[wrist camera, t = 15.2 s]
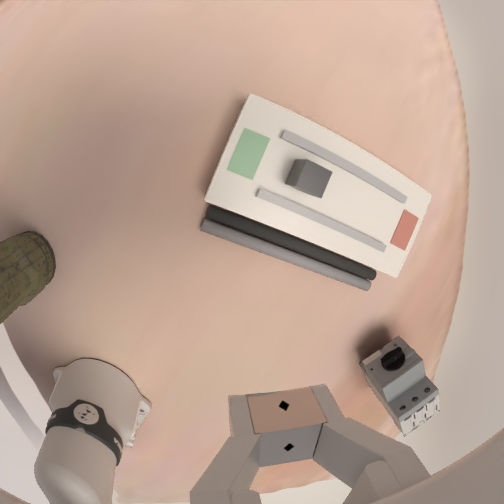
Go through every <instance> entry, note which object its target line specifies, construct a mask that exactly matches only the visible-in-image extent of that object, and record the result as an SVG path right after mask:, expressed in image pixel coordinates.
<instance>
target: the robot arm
mask: <svg viewBox="0 0 504 504" xmlns="http://www.w3.org/2000/svg"><path fill="white" fill-rule="evenodd" d="M53 377H54V381H55V384H56V385H55V387H54V389H53V392H52V394H51V397H50V399H49V405H50V409H51V411H52V415H51V417H50V418H49V420H48V423H47V427H46V437H45V439H44V442H43V444H42V447H41V449H40V452H39V455H38V457H37V460H36V462H35V465H34V473H35V478H36V481H37V483H38V485H39V486H40V488H41V490H42V491H43V492H44V494H45V496H46V497H47V499H48V500H49V502H50V504H112V493H113V483H114V476H115V469H116V466H118V464H119V462H120V459H121V457H122V449H123V446H124V445H125V446H127V447H132V446H133V443H134V439H135V435H136V434H135V432H136V430H137V429H138V427H139V426H140V424H141V423H142V422H143V420H144V419H145V417H146V416H147V414H148V413H149V411H150V410H151V406H152V405H151V403H150V402H149V401H148V400H147V399H145V398H144V397H143V396H142V395H141V394H140V393H139V391H138V390H137V388H136V386H135V384H134V383H133V382H132V381H131V380H130V378H129V377H128V376H126V375H125V374H124V373H123V372H122V371H120V370H119V369H117V368H115V367H114V366H112V365H110V364H107V363H105V362H102V361H99V360H94V359H79V360H76V361H74V362H72V363H70V364H69V365H68V366H66V367H57V368H55V369H54V372H53ZM228 403H229V422H230V434H231V437H229V438H228V439H227V441H226V442H225V444H224V445H223V447H222V448H221V450H220V451H219V452H218V454H217V455H216V457H215V458H214V460H213V461H212V462H211V464H210V465H209V467H208V468H207V469H206V471H205V472H204V474H203V475H202V476H201V478H200V479H199V480H198V482H197V483H196V484H195V486H194V487H193V489H192V490H191V491H190V504H261V500H260V496H259V493H258V492H256V491H254V490H249V488H250V486H251V484H252V482H253V480H254V478H255V476H256V473H257V471H258V469H259V467H264V466H271V465H276V464H282V463H288V462H294V461H301V460H306V459H312V458H313V460H314V461H315V462H317V463H318V464H319V465H321V466H322V467H323V468H325V469H326V470H327V471H328V472H330V473H331V474H333V475H334V476H335V477H337V478H338V479H340V480H341V481H342V482H344V483H345V484H347V485H348V486H349V487H351V488H352V490H351V492H350V493H349V495H348V496H347V498H346V499H345V501H344V503H343V504H504V428H503V429H502V430H501V431H499V432H498V433H497V434H495V435H494V436H493V437H491V438H490V439H489V440H487V441H486V442H485V443H483V444H482V445H480V446H479V447H477V448H476V449H474V450H473V451H471V452H470V453H469V454H467V455H465V456H464V457H462V458H461V459H459V460H458V461H456V462H454V463H453V464H451V465H449V466H447V467H446V468H444V469H442V470H441V471H439V472H437V473H435V474H433V475H431V476H430V474H429V473H428V471H427V470H426V468H425V467H424V465H423V464H422V463H421V461H420V460H419V458H418V457H417V455H416V454H415V453H414V451H413V449H412V448H411V447H409V446H407V445H405V444H403V443H401V442H398V441H396V440H394V439H392V438H390V437H388V436H386V435H383V434H381V433H379V432H377V431H375V430H373V429H371V428H369V427H367V426H365V425H363V424H361V423H359V422H357V421H355V420H353V419H351V418H345V417H344V415H343V414H342V412H341V410H340V408H339V407H338V405H337V403H336V401H335V399H334V398H333V396H332V394H331V392H330V391H329V389H328V387H327V386H326V385H325V384H321V385H316V386H310V387H304V388H298V389H292V390H285V391H277V392H269V393H257V394H246V395H229V396H228ZM0 504H30V503H27V502H25V501H23V500H21V499H19V498H18V497H15V496H14V495H12V494H10V493H8V492H6V491H4V490H2V489H0Z"/></svg>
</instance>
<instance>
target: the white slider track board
mask: <svg viewBox="0 0 504 504" xmlns="http://www.w3.org/2000/svg"><path fill="white" fill-rule="evenodd" d="M295 159H308V160H310V161H312V162H314V163H316V164H318V165H320V166H322V167H324V168H326V169H328V170H330V171H332V175H331V177H330V180H329V182H328V184H327V187H326V189H325V191H324V194H323V196H322V198H318V197H315V196H312V195H309V194H306V193H304V192H302V191H300V190H298V189H295V188H293V187H291V186H289V185H286V184H285V183H286V180H287V178H288V176H289V173H290V171H291V169H292V166H293V164H294V161H295ZM431 197H432V195H431V194H430V193H428V192H427V191H425V190H424V189H423V188H421V187H420V186H418V185H417V184H416V183H414V182H413V181H411V180H410V179H408V178H407V177H406V176H404V175H403V174H401V173H400V172H398V171H397V170H395V169H394V168H392V167H391V166H389V165H387V164H386V163H384V162H383V161H381V160H380V159H378V158H376V157H375V156H373V155H372V154H370V153H368V152H367V151H365V150H363V149H362V148H360V147H358V146H357V145H355V144H353V143H351V142H350V141H348V140H346V139H344V138H343V137H341V136H339V135H337V134H335V133H334V132H332V131H330V130H328V129H326V128H324V127H322V126H320V125H318V124H317V123H315V122H313V121H311V120H309V119H307V118H305V117H303V116H301V115H299V114H297V113H294V112H292V111H290V110H288V109H286V108H284V107H282V106H279V105H277V104H275V103H273V102H271V101H268V100H266V99H264V98H261V97H259V96H257V95H254V94H252V93H250V94H249V96H248V97H247V99H246V101H245V102H244V105H243V107H242V109H241V111H240V113H239V116H238V118H237V120H236V122H235V125H234V127H233V129H232V131H231V134H230V136H229V138H228V141H227V143H226V145H225V148H224V150H223V152H222V155H221V157H220V160H219V162H218V164H217V167H216V169H215V172H214V174H213V177H212V179H211V182H210V184H209V187H208V189H207V192H206V194H205V199H204V201H206V202H209V203H211V204H214V205H217V206H219V207H222V208H225V209H227V210H230V211H233V212H235V213H238V214H240V215H243V216H246V217H248V218H251V219H253V220H256V221H259V222H261V223H264V224H266V225H269V226H271V227H274V228H276V229H279V230H282V231H284V232H287V233H289V234H292V235H294V236H297V237H299V238H302V239H304V240H307V241H309V242H311V243H314V244H316V245H319V246H321V247H324V248H326V249H329V250H331V251H333V252H336V253H338V254H341V255H343V256H345V257H348V258H350V259H353V260H355V261H357V262H360V263H362V264H364V265H367V266H369V267H372V268H374V269H376V270H379V271H381V272H383V273H386V274H388V275H390V276H392V277H395V278H397V276H398V274H399V272H400V270H401V268H402V266H403V264H404V262H405V260H406V257H407V255H408V253H409V251H410V249H411V246H412V244H413V242H414V239H415V237H416V235H417V232H418V230H419V228H420V225H421V223H422V220H423V218H424V215H425V213H426V210H427V208H428V205H429V202H430V200H431Z"/></svg>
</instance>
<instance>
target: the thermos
mask: <svg viewBox="0 0 504 504" xmlns="http://www.w3.org/2000/svg"><path fill="white" fill-rule="evenodd" d="M55 268H56V266H55V257H54V253H53V250H52V248H51V246H50V244H49V243H48V241H47V240H46V239H45V238H44V237H43V236H42V235H40V234H38V233H36V232H32V231H27V232H24V233H21V234H19V235H16V236H13V237H11V238H9V239H6V240H4V241H2V242H0V324H1V323H2V322H3V321H4V320H5V319H6V318H7V317H8V316H9V315H10V314H11V313H12V312H13V311H14V310H15V309H17V308H18V307H19V306H22V305H26V304H27V303H28V302H30V301H31V300H32V299H33V298H34V297H35V296H36V295H37V294H39V293H40V292H41V291H42V290H43V289H44V287H45V285H47V284H48V283H49V282H50V281H51V279H52V278H53V276H54V273H55Z"/></svg>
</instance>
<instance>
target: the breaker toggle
mask: <svg viewBox="0 0 504 504" xmlns="http://www.w3.org/2000/svg"><path fill="white" fill-rule="evenodd" d="M331 175H332V171H330V170H328V169H326V168H324V167H322V166H320V165H318V164H316V163H314V162H312V161H310V160H308V159H295V161H294V164H293V166H292V169H291V171H290V173H289V176H288V178H287V180H286V183H285V184H286V185H289V186H291V187H293V188H295V189H298V190H300V191H302V192H304V193H306V194H309V195H312V196H315V197H318V198H322V196H323V194H324V191H325V189H326V187H327V184H328V182H329V180H330V177H331Z"/></svg>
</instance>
